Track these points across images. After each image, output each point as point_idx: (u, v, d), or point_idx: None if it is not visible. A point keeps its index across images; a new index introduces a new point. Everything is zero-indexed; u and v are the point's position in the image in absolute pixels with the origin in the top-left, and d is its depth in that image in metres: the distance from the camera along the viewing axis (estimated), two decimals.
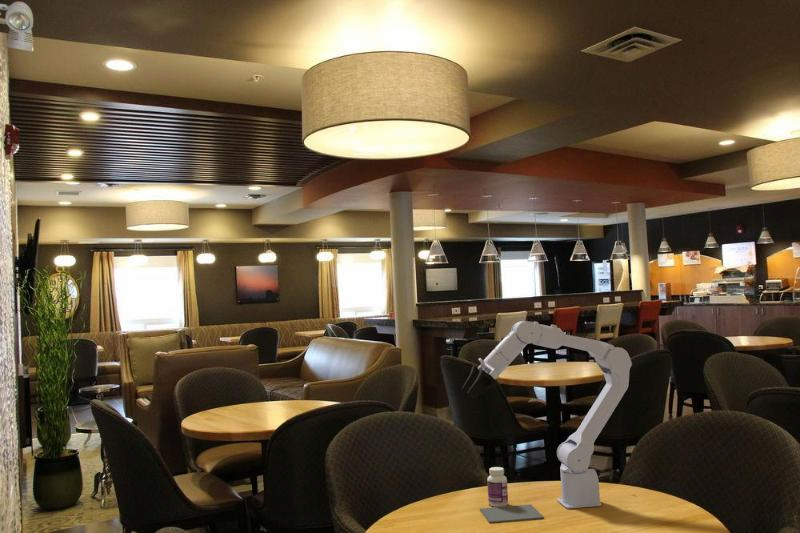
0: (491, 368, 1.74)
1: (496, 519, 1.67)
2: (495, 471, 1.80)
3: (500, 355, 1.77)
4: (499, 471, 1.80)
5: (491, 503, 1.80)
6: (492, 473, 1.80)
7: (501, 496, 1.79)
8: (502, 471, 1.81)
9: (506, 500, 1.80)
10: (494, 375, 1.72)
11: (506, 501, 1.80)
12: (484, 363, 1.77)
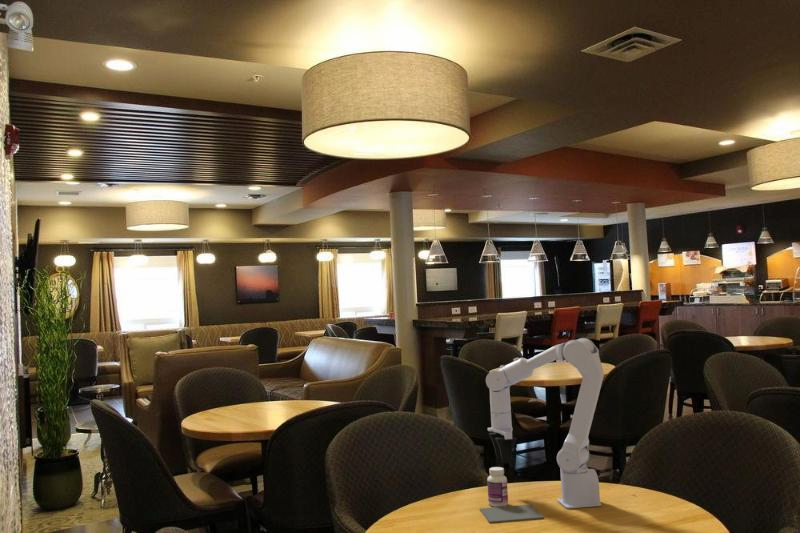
0: (502, 432, 1.85)
1: (496, 519, 1.67)
2: (495, 471, 1.80)
3: (499, 415, 1.88)
4: (499, 471, 1.80)
5: (491, 503, 1.80)
6: (492, 473, 1.80)
7: (501, 496, 1.79)
8: (502, 471, 1.81)
9: (506, 500, 1.80)
10: (509, 437, 1.83)
11: (506, 501, 1.80)
12: (494, 430, 1.88)
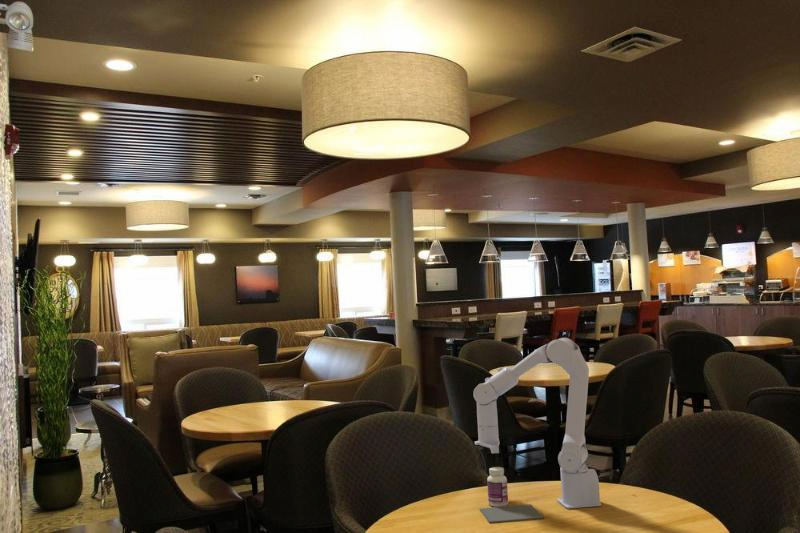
0: (489, 446, 1.84)
1: (496, 519, 1.67)
2: (495, 471, 1.80)
3: (486, 428, 1.87)
4: (499, 471, 1.80)
5: (491, 503, 1.80)
6: (492, 473, 1.80)
7: (501, 496, 1.79)
8: (502, 471, 1.81)
9: (506, 500, 1.80)
10: (495, 451, 1.82)
11: (506, 501, 1.80)
12: (481, 444, 1.88)
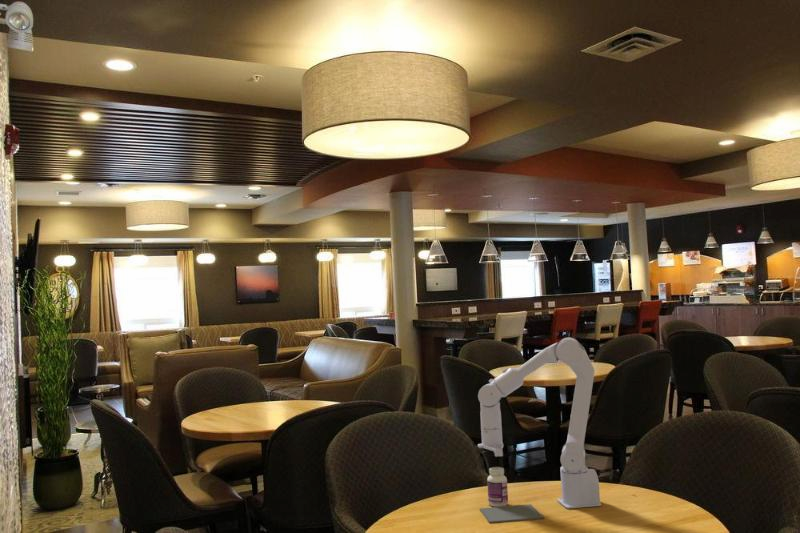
0: (492, 449, 1.80)
1: (496, 519, 1.67)
2: (495, 471, 1.80)
3: (489, 431, 1.83)
4: (499, 471, 1.80)
5: (491, 503, 1.80)
6: (492, 473, 1.80)
7: (501, 496, 1.79)
8: (502, 471, 1.80)
9: (506, 500, 1.80)
10: (499, 454, 1.78)
11: (506, 501, 1.80)
12: (484, 447, 1.83)
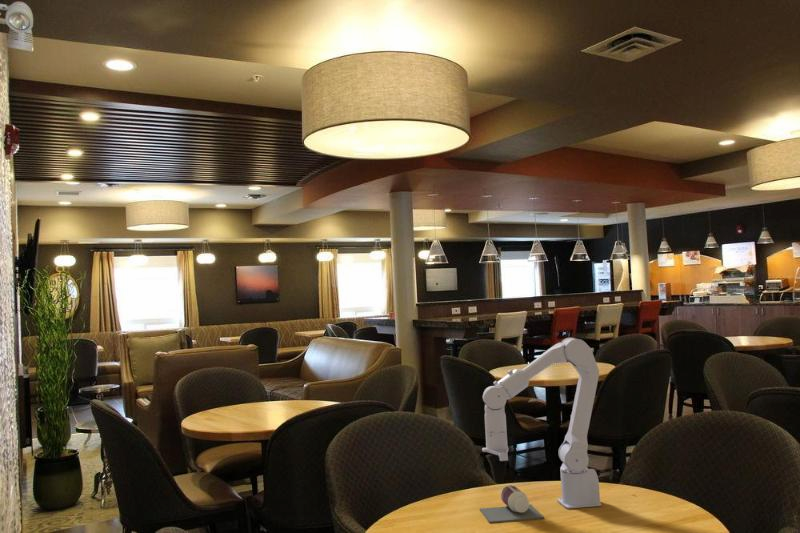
0: (497, 453, 1.75)
1: (496, 519, 1.67)
2: (514, 506, 1.70)
3: (494, 434, 1.78)
4: (516, 510, 1.70)
5: (501, 492, 1.78)
6: (513, 502, 1.71)
7: None
8: None
9: None
10: (504, 458, 1.73)
11: None
12: (489, 451, 1.78)
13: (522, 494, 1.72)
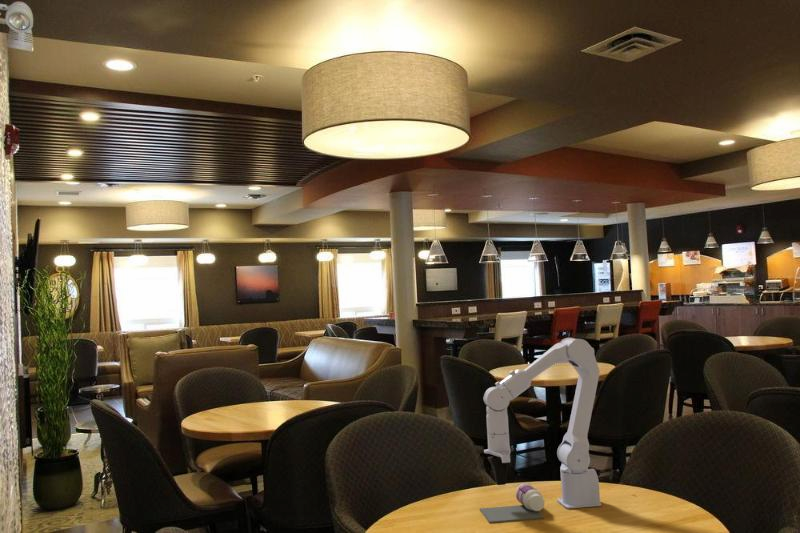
0: (499, 455, 1.73)
1: (496, 519, 1.67)
2: (534, 495, 1.71)
3: (496, 436, 1.76)
4: (531, 498, 1.71)
5: (528, 484, 1.79)
6: (536, 494, 1.72)
7: (520, 489, 1.77)
8: (529, 501, 1.71)
9: (516, 494, 1.78)
10: (507, 460, 1.71)
11: (516, 493, 1.78)
12: (491, 453, 1.76)
13: None
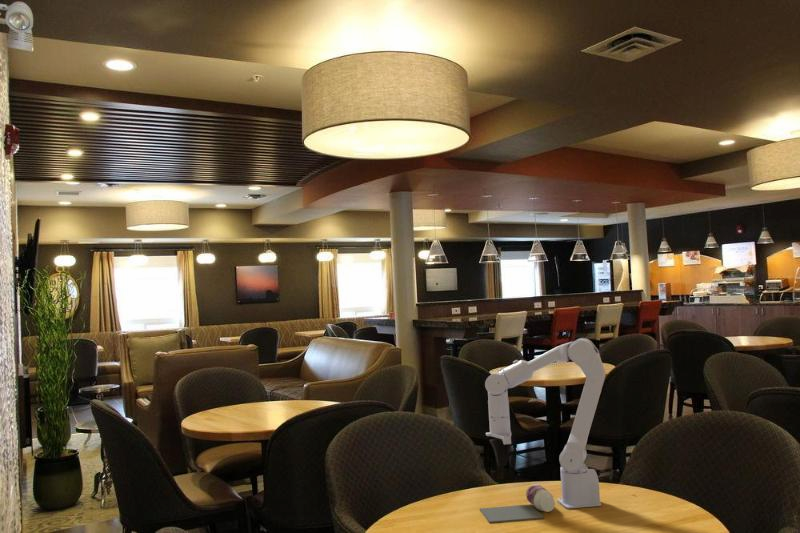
0: (501, 437, 1.81)
1: (496, 519, 1.67)
2: (552, 497, 1.72)
3: (497, 419, 1.84)
4: (549, 495, 1.72)
5: None
6: None
7: (541, 486, 1.78)
8: (545, 495, 1.72)
9: (533, 486, 1.79)
10: (508, 442, 1.79)
11: (533, 485, 1.79)
12: (492, 435, 1.84)
13: None
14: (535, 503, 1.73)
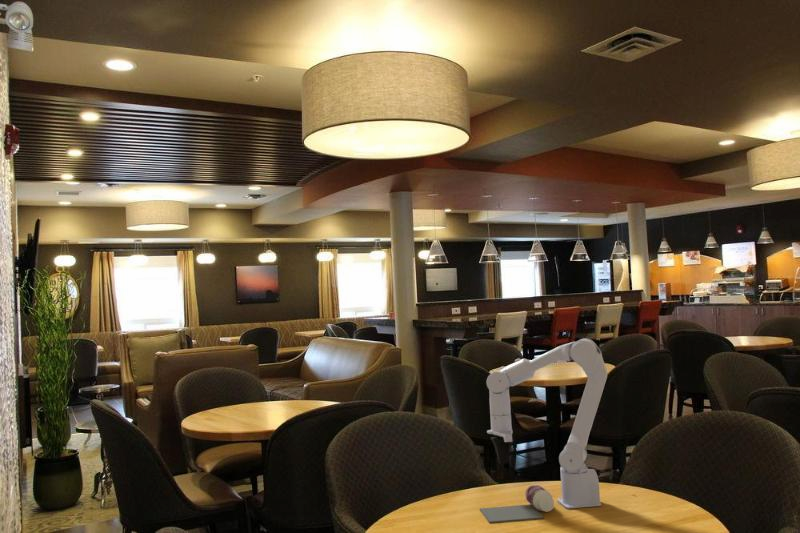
0: (502, 435, 1.81)
1: (496, 519, 1.67)
2: (551, 497, 1.72)
3: (499, 417, 1.84)
4: (547, 495, 1.72)
5: None
6: None
7: (539, 486, 1.78)
8: (543, 496, 1.72)
9: (531, 486, 1.79)
10: (509, 439, 1.80)
11: (531, 486, 1.79)
12: (494, 433, 1.85)
13: None
14: (534, 504, 1.73)
